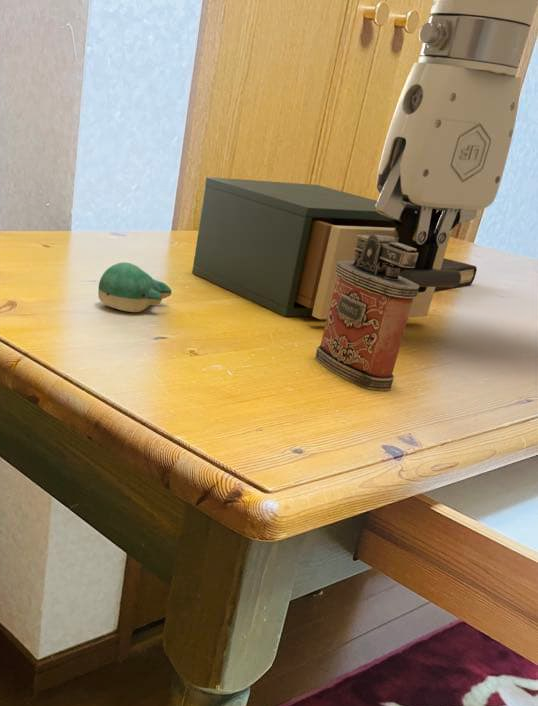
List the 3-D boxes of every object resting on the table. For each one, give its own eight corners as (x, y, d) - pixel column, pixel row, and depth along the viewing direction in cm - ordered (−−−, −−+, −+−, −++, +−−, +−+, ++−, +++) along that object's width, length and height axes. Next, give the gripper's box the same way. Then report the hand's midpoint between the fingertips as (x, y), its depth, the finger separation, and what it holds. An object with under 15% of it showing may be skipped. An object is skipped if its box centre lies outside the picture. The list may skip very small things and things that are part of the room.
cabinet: (399, 314, 85) (427, 213, 80) (285, 317, 78) (307, 207, 73) (298, 273, 97) (317, 184, 92) (191, 273, 90) (205, 176, 86)
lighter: (305, 355, 67) (334, 224, 63) (340, 355, 69) (371, 227, 64) (364, 390, 61) (402, 248, 56) (402, 389, 62) (441, 250, 58)
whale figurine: (81, 301, 74) (85, 257, 72) (138, 294, 79) (143, 252, 77) (129, 319, 71) (134, 273, 69) (185, 310, 76) (191, 267, 74)
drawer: (472, 334, 77) (500, 246, 73) (362, 339, 71) (387, 242, 67) (324, 276, 93) (341, 201, 89) (224, 276, 86) (237, 195, 83)
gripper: (438, 38, 59) (371, 300, 68) (574, 64, 66) (496, 299, 75) (367, 34, 65) (313, 277, 74) (498, 59, 72) (434, 278, 80)
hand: (405, 287), depth 74 cm, fingers closed
